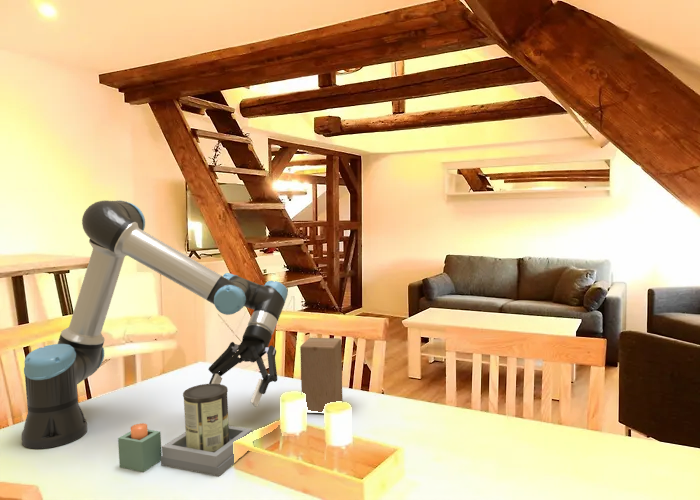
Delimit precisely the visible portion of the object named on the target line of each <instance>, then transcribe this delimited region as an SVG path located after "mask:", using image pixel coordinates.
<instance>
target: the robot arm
mask: <svg viewBox="0 0 700 500" xmlns="http://www.w3.org/2000/svg"><path fill="white" fill-rule="evenodd" d="M81 225H82V229H83V231H84V233H85V235H86V236H87V238H89V241H88V242H89V244H90V245H91V247H92V252H91V255H90V257H89V261H88V265H87V267H86V271H85V273H84V277H83V280H82V282H81V283H82V284H81V287H80V290H79V293H78V297H77V301H76V302H75V306H74V309H73V313H72V316H71V319H70V323H69V326H68V327H66V328H65V329H63V330H61V332H60V336H59V338H58V341H57V343H55V344H54V343H53V344H50V345H49V344H48V345H44V346H43V347H39V348H36V349H33V350H32V351H30V352H29V353H28V354H27V355H26V357H25V358H24V368H23V373H24V380H25V381H24V382H25V391H26V394H25V395H26V405H27V406H26V407H27V413H26V418H25V423H24V425H23V429H22V432H21V444H22V446H23V447H25V448H28V449H35V450H36V449H37V450H38V449H48V448H55V447H60V446H63V445H66V444H69V443H71V442H72V443H73V442H74V441H76V440H78V439H81V437H83V436H84V435H86V434H87V431H88V424H87V423H88V422H87V419H86V418H85V415H84V413H83V411H82V409H81V406H80V404H79V397H78V396H79V395H78V385H79V384H80V383H82V382H83V381H84V380H86V379H87V378H89V377H90V376H92V375H94V374H95V373H96V372H97V371H98V370H99V368H100V367H101V366H102V364H103V362H104V358H105V349H104V347H103V346H104V343H105V337H104V336H103V334H102V331H103V327H104V324H105V321H106V318H107V315H108V312H109V309H110V305H111V302H112V298H113V295H114V293H115V288H116V287H117V282H118V280H119V276H120V274H121V273H120V272H121V271H122V267H123V263H124V260H125V258H126V257H127V256H128V257H129V258H130V259H131V258H132V259H133V260H135V261H136V262H138V263H140V264H142V265H144V266H146V267H147V268H149V269H151V270H153V271H154V272H156V273H158V274H160V275H161V276H163V277H165V278H166V279H168V280H170V281H172V282H174V283H175V284H178V285H179V286H181V287H182V288H184V289H186V290H188V291H190V292H191V293H193V294H195V295H196V296H199V297H201V298H202V299H203V300H206V301H208V302H210V303H211V304H213V305H214V306H215V309H216V310H217V311H218V312H219V313H221V314H223V315H226V316H229V315H234V314H237V312H239V311H241V309H243V308H244V307H245V308H247V309H251V310H253V312H252V314H251V316H250V319H249V321H248V324H247V327H246V328H245V331H244V333H243V336H242V341H241V343H240V344H236V343H235V342H234V341H231V342H230V343H229V345H228V346H227V348H226V350H225V351H223V352H222V353H221V355H219V357H218V358H217V359H216V360H215V361H214V362H213V363H211V365H210V366H209V367H208V372H210V373H211V374H212V376H211V378H210V380H209V383H208V384H221V383H222V381H223V377H222V376H223V375H225V374H226V373H227V372H229V371H231V369H233V368H234V367H236V366H237V365H238V364H241V363H243V362H247V363H248V362H250V363H256V364H257V367H258V369H259V372H260V374H261V378H259V379H258V381H257V384H256V387H255V389H254V391H253V394H252V397H251V400H250V404H251V405H252V406H253V407H254V408H258V407H259V403H260V401H261V398H262V396H263V395H265V394H266V392H267V389H268V386H269V384H270V383H271V382H274V383H276V382H277V381H278V374H277V373H278V372H277V363H276V354H277V350H276V348H275V347H274V346H273V345H270V343H271V339H272V338H273V337H272V336H273V334H274V332H275V329H276V327H277V324H278V321H279V319H280V316H281V314H282V312H283V310H284V308H285V307H284V306H285V303H286V301H287V298H288V295H289V294H288V293H289V292H288V288H287V287H286V286H285V284H283V283H281V282H280V281H278V280H277V281H276V280H275V281H274V280H269V281H266V282H265V284H264V285H263V284H259V283H256V282H254V281H251V280H249V279H246V278H244V277H241V276H239V275H237V274H233V273H230V272H226V273H224V274H223V275H221V274H219V273H218V272H216V271H215V270H212V269H211V268H210V267H207V266H206V265H203V264H202V263H200V262H198V261H197V260H196V259H193V258H191V257H190V256H188V255H186V254H185V253H183V252H181V251H180V250H177V249H176V248H174V247H173V246H171V245H169V244H168V243H165V242H164V241H162V240H160V239H158V238H156V237H155V236H153V235H151V234H149V233H147V232H146V231H145V229H146V219H145V215H144V214H143V212H142V210H141V209H140V208H139V207H138V206H137V205H136V204H133V203H132V202H129V201H125V200H99V201H95V202H94V203H92V204H90V205H89V206H88V207H87V208H86V209H85V210H84V213H83V215H82V218H81ZM265 354H266V355H267V362H268V363H267V364H268V365H267V366H268V371H267V369H266V366H265V363H264V362H265V361H264V360H263V356H265ZM268 372H269V373H268Z"/></svg>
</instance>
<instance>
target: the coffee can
mask: <svg viewBox="0 0 700 500" xmlns="http://www.w3.org/2000/svg"><path fill="white" fill-rule="evenodd" d="M228 390H229V389H228V387H227V386H226V385H224V384H221V383H220V384H209V383H205V384H204V383H203V384H199V385H195V386H192V387H189V388H188V389H186V390H184V391H183V393H182V396H183V405H184V406H183V407H184V409H183V410H184V424H185V425H184V426H185V432H186V446H187V448H192V449H198V450H203V451H209V452H216V451H217V450H219V449H220V448H221V447H223V446H224V445H225V444H227V443H228V442H229V426H230V424H229V406H228V405H229V404H228V403H229V402H228V400H229V399H228Z"/></svg>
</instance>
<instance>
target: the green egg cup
mask: <svg viewBox="0 0 700 500" xmlns="http://www.w3.org/2000/svg"><path fill="white" fill-rule="evenodd" d="M147 430H148V436H146V437H145V438H143V439H141V440H137V439H131V430H130V431H129V432H127V433H125V434H123V435H121V436H120V437H118V438H117V442H118V443H117V446H118V459H119V460H118V463H119V468H121V469H126V470H132V471H137V472H140V473H144V472H146V471H148V470H149V469H150V468H153V466H156V464H158V463H161V456H162V436H161V435H162V434H161V431H159V430H154V429H148V428H147Z"/></svg>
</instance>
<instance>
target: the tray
mask: <svg viewBox="0 0 700 500" xmlns="http://www.w3.org/2000/svg"><path fill="white" fill-rule="evenodd" d="M250 432H252V433H253V428H246V427H240V426H234V425H233V426H232V425H229V442H228V443H227V444H225V445H224V446H223V447H221V448H220V449H219V450H217V451H216V452H209V451H203V450H198V449H192V448H187V446H186V431H184V432H183V433H181V434H180V435H178V436H177V437H175V438H173V439H172V440H170V441H169V442H167V443H165V444H164V445H161V453H162V456H161V461H160V465H161V466H165V467H169V466H170V467H171V468H175V469H180V470H185V471H191V472H194V473H195V472H196V473H199V474H200V473H201V474H205V475H211V476H214V477H215V476H216V477H220V476H221V475H222V474H224V473H225V472H226V471H227V470H229V468H231V467H232V466H233V465H234V464H235V463H234V454H233V442H234V441H236V440H238V439H240V438H242V437H244V436H246V435H247V434H249V433H250Z"/></svg>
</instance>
